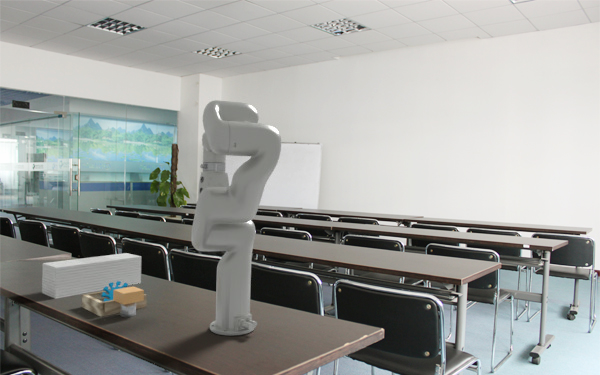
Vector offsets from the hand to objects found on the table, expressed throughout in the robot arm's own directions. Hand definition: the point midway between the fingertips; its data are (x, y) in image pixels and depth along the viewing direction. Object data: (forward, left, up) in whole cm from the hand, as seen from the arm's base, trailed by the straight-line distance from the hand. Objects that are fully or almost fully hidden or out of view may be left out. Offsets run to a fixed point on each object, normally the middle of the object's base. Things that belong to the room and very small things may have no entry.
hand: (212, 222), depth 153 cm
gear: (+15, +25, -27) cm, 40 cm away
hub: (+5, +27, -23) cm, 36 cm away
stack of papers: (+44, +20, -28) cm, 56 cm away
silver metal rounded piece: (+5, +27, -27) cm, 39 cm away
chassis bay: (+15, +26, -27) cm, 41 cm away
